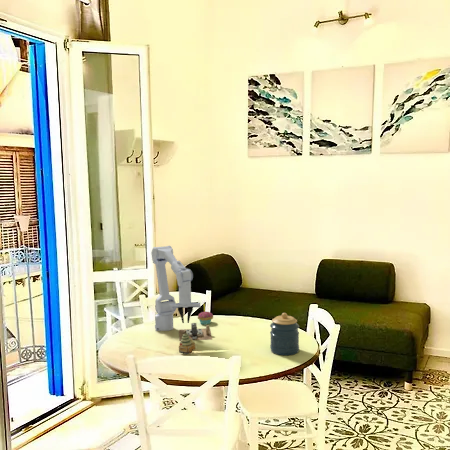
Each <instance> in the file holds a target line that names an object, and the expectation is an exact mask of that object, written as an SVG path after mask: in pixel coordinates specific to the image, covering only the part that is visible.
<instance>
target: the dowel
mask: <svg viewBox="0 0 450 450" xmlns="http://www.w3.org/2000/svg"><path fill="white" fill-rule="evenodd" d="M205 328H206V335H210V334H209V328H210V325H209V324H206V326H205Z"/></svg>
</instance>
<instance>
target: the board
mask: <svg viewBox="0 0 450 450" xmlns="http://www.w3.org/2000/svg"><path fill="white" fill-rule="evenodd" d="M201 329H202V334H203V336H197V339H193V337H191V339H192V340H193V341H208V340H213V336H212V332H211V328H210V327H209V334H210V335H206V327H205V328H201ZM186 330H189V328H187V329H178V336H179V337H178V341H179V342H181V339H182V336H183V334H184V332H185V331H186Z"/></svg>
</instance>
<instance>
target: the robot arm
mask: <svg viewBox="0 0 450 450" xmlns="http://www.w3.org/2000/svg"><path fill="white" fill-rule="evenodd" d="M150 254H151V258H152V259H151V260H152V263H153V264H154V265H155V271H156V277H157V278H156V279H157V284H158V292H159V295H158V297H157V298H156V299H155V323H154V324H155V325H154V329H155V332H159V331H160V332H162V331H163V332H167V331H172V330H174V314H175V312H176V311H177V312H178V314H179V316H180V318H181V322H182V324H184V323H185V320H184V309H186V308H187V323H188V324H189V323H190V319H191V315H192V312H193V311H194V308H201V302H192V288H191V287H192V283H191V282H192V281H193V278H194V273H193V271H192V270H191V269H190V268H187V267H186V266H185V265H184V264H183V263H182V262H181V261H180V260H177V258H176V256H175V255H174V250H173V246H171V245H167V246H153V247H152V250H151V253H150ZM167 263H168V264H169V265H171V266H170V269H171V271H173V273H174V274H175V275H176V276H175V277H176V281H177V286H178V302H177V303H176V301H175V297H174V296H173V295H171V293H170V289H169V283H168V275H167V270H166V265H167Z"/></svg>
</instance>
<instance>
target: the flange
mask: <svg viewBox="0 0 450 450" xmlns="http://www.w3.org/2000/svg"><path fill="white" fill-rule="evenodd" d="M188 329H189V328H188ZM202 329H203V328H198V327H196V326H193V327H192V332H191V328H190V329H189V330H186V333H187V334H188V336H189V337H193V339H197V336H203V334H202Z"/></svg>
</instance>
